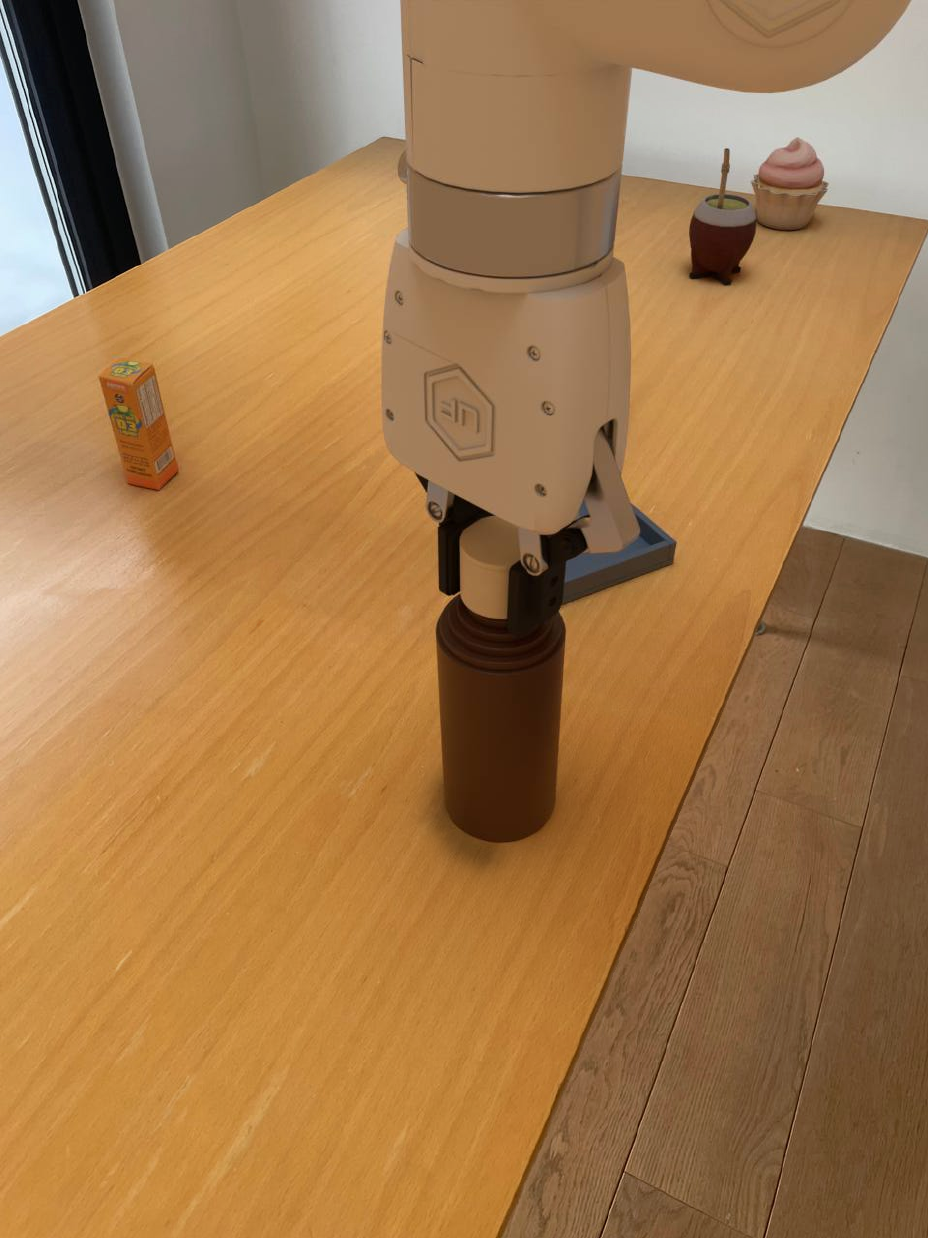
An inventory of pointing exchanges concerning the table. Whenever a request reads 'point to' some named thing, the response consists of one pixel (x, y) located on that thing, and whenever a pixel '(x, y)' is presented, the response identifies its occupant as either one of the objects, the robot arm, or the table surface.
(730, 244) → the mate gourd
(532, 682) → the bottle
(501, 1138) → the table surface
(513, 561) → the cap
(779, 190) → the cupcake
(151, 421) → the supplement box
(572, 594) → the tray
